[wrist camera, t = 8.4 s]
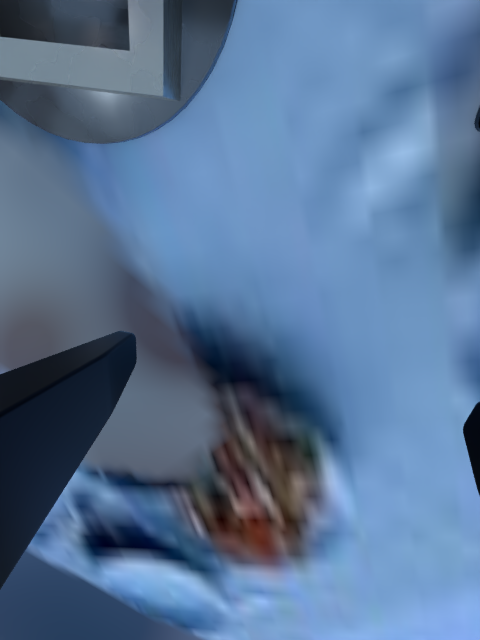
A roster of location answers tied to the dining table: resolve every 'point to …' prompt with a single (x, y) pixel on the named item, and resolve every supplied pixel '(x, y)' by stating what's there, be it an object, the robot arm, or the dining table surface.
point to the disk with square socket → (107, 62)
